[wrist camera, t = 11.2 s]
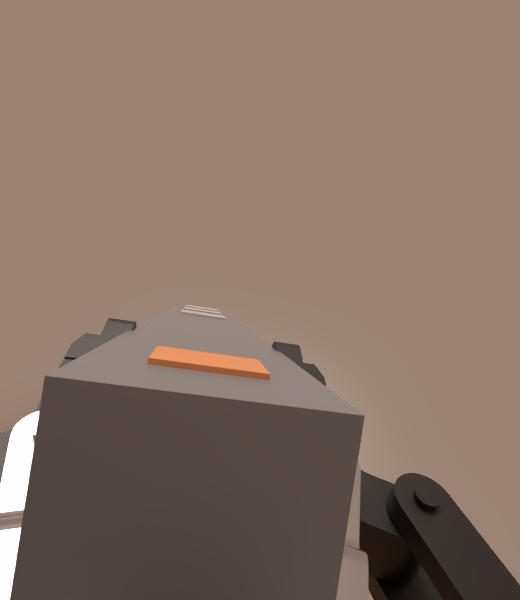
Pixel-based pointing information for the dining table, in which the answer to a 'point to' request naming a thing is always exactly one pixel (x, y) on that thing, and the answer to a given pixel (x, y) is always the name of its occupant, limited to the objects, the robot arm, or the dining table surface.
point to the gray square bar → (187, 471)
